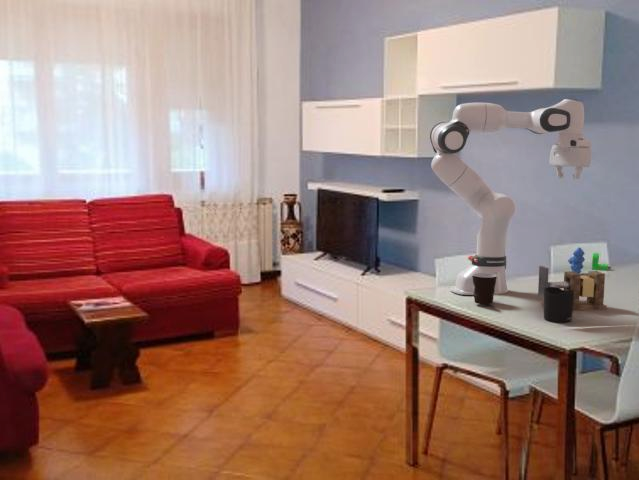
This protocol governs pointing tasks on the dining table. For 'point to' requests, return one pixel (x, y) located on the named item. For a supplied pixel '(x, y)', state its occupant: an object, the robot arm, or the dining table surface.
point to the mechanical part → (595, 263)
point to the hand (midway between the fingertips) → (568, 178)
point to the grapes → (577, 260)
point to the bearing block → (591, 302)
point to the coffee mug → (484, 287)
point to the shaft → (545, 284)
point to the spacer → (586, 286)
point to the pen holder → (558, 305)
